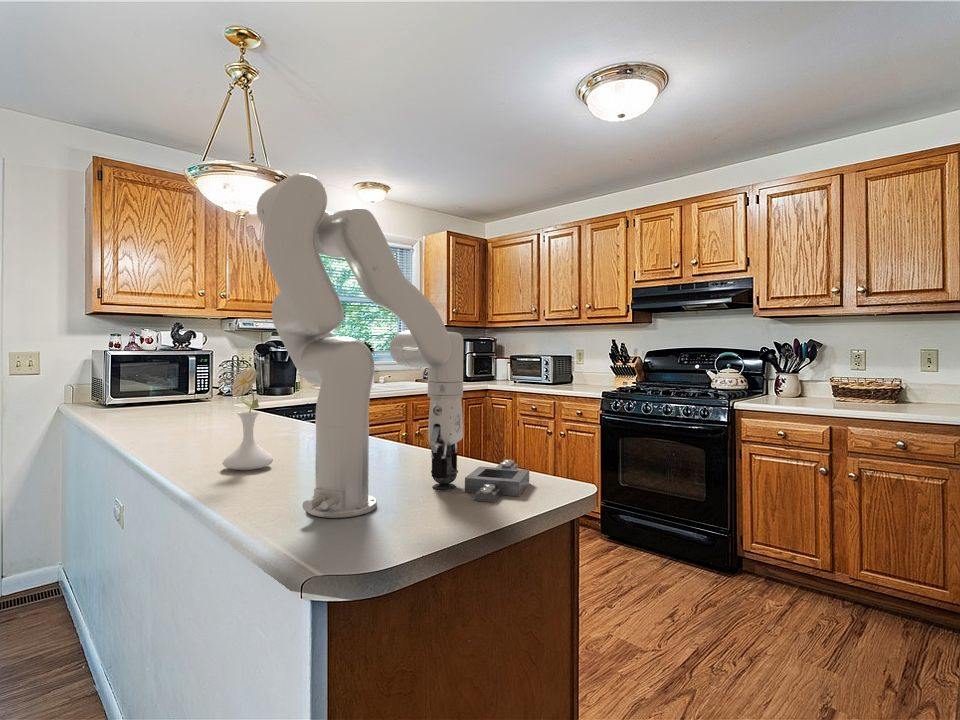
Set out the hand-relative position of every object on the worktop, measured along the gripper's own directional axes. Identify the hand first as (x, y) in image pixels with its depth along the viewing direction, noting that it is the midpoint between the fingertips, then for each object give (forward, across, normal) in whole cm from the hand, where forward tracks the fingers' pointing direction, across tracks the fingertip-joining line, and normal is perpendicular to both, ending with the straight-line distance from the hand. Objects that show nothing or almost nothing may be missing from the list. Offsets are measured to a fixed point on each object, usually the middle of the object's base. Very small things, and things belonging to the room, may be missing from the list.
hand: (444, 473), depth 115 cm
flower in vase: (+3, +2, +51) cm, 51 cm away
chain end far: (+3, +6, -11) cm, 13 cm away
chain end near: (+3, +1, -11) cm, 11 cm away
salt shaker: (+3, 0, 0) cm, 3 cm away
